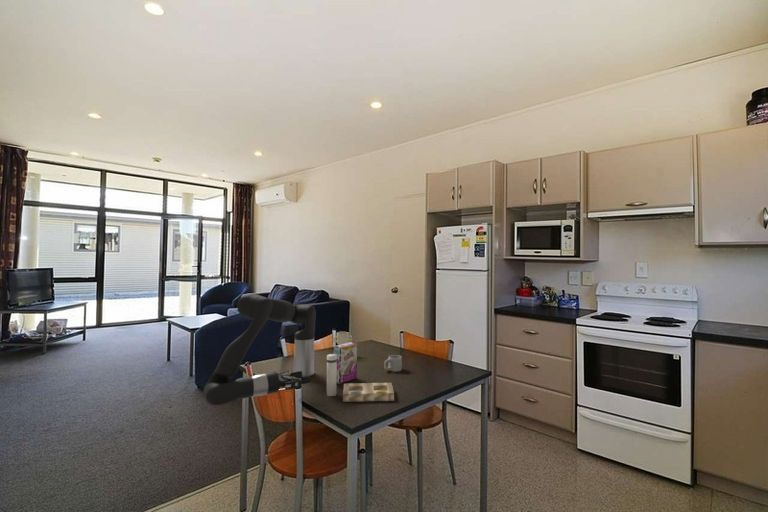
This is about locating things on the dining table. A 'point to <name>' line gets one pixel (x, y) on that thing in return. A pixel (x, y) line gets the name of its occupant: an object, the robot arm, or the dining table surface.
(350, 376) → the candy bar box
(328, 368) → the white tall cylinder
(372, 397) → the socket board
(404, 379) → the dining table surface
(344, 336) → the character mug
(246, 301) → the robot arm
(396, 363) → the mug
